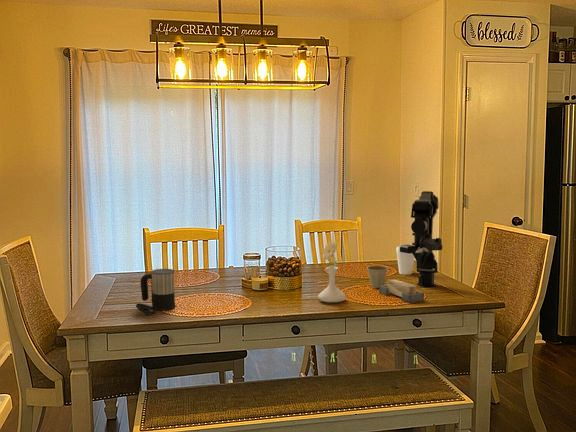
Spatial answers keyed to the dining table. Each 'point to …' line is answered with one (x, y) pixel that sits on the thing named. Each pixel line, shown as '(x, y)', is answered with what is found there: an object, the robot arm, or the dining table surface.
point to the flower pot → (377, 275)
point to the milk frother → (158, 291)
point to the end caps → (405, 295)
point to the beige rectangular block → (400, 288)
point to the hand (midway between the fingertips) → (420, 267)
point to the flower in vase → (331, 277)
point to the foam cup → (405, 262)
